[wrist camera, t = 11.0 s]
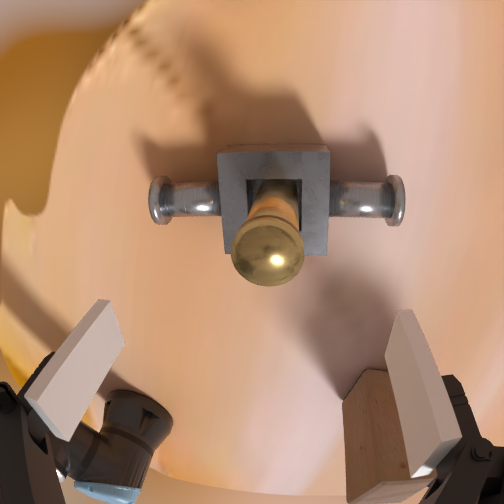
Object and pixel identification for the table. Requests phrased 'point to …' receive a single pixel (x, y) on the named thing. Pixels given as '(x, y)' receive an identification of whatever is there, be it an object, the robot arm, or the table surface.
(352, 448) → the wooden block
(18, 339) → the table surface
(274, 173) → the valve body
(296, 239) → the valve handle
